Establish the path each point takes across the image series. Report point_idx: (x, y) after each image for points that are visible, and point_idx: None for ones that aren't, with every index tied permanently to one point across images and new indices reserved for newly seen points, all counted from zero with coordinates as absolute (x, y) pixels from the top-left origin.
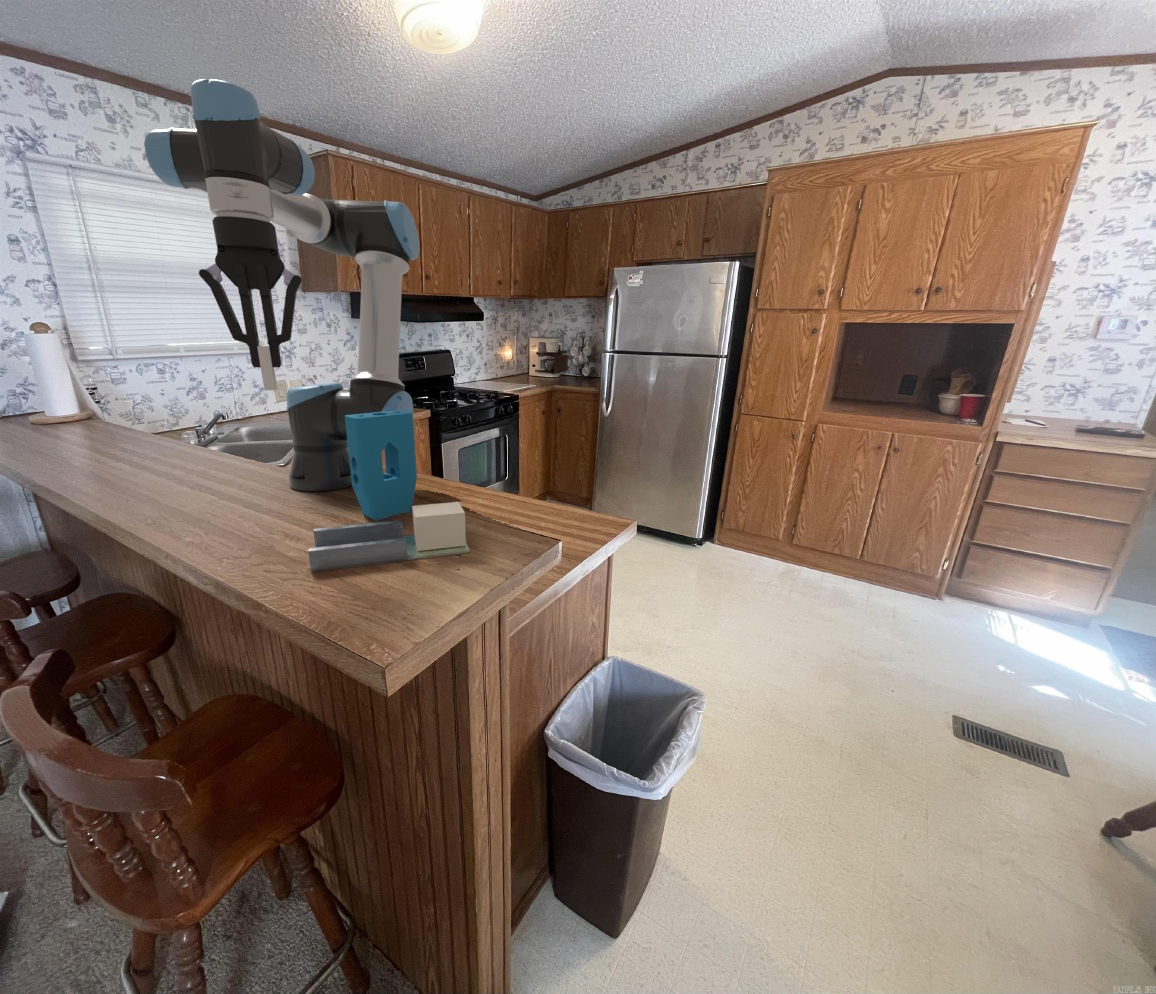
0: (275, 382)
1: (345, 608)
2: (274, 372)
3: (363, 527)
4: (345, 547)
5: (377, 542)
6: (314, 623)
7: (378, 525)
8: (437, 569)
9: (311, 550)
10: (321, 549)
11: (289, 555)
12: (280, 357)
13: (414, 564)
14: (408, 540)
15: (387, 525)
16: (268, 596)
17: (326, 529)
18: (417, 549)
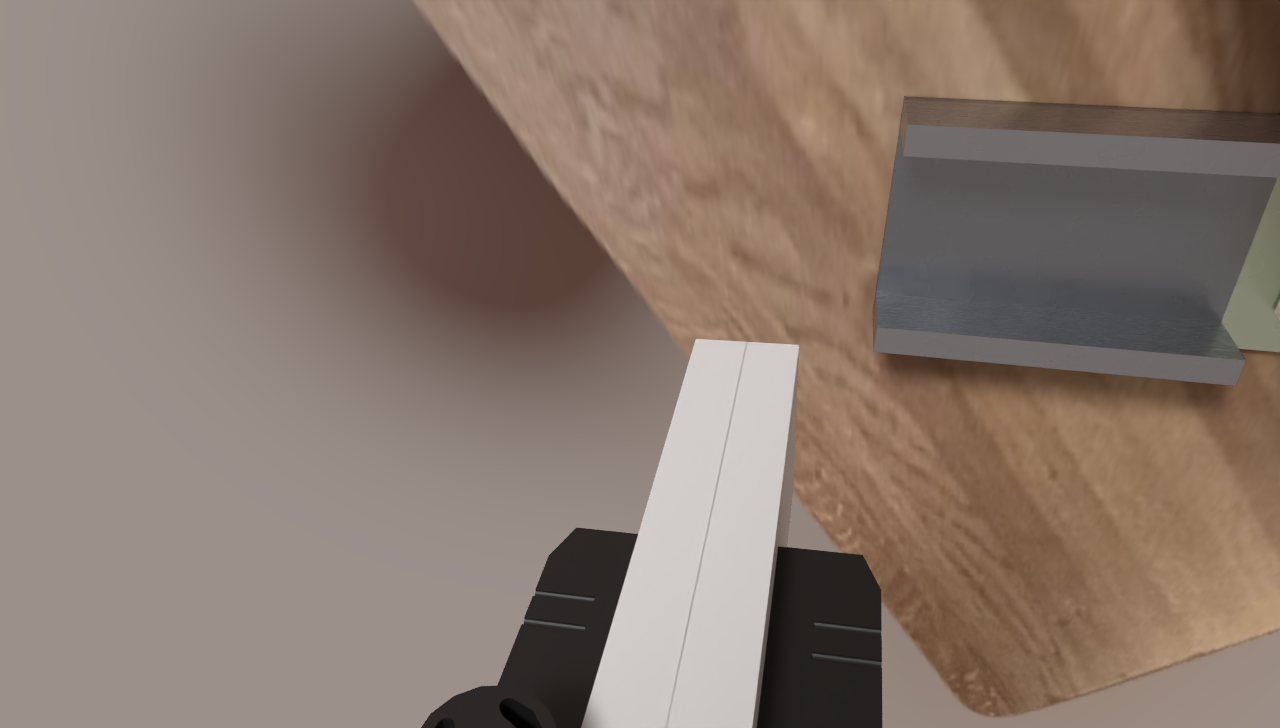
0: (791, 462)
1: (941, 537)
2: (784, 489)
3: (1122, 167)
4: (999, 362)
5: (1122, 364)
6: None
7: (1195, 171)
8: (1271, 441)
9: (884, 349)
10: (917, 352)
11: (802, 142)
12: (880, 667)
13: None
14: None
15: (1238, 174)
16: None
17: (958, 153)
18: (1277, 315)
